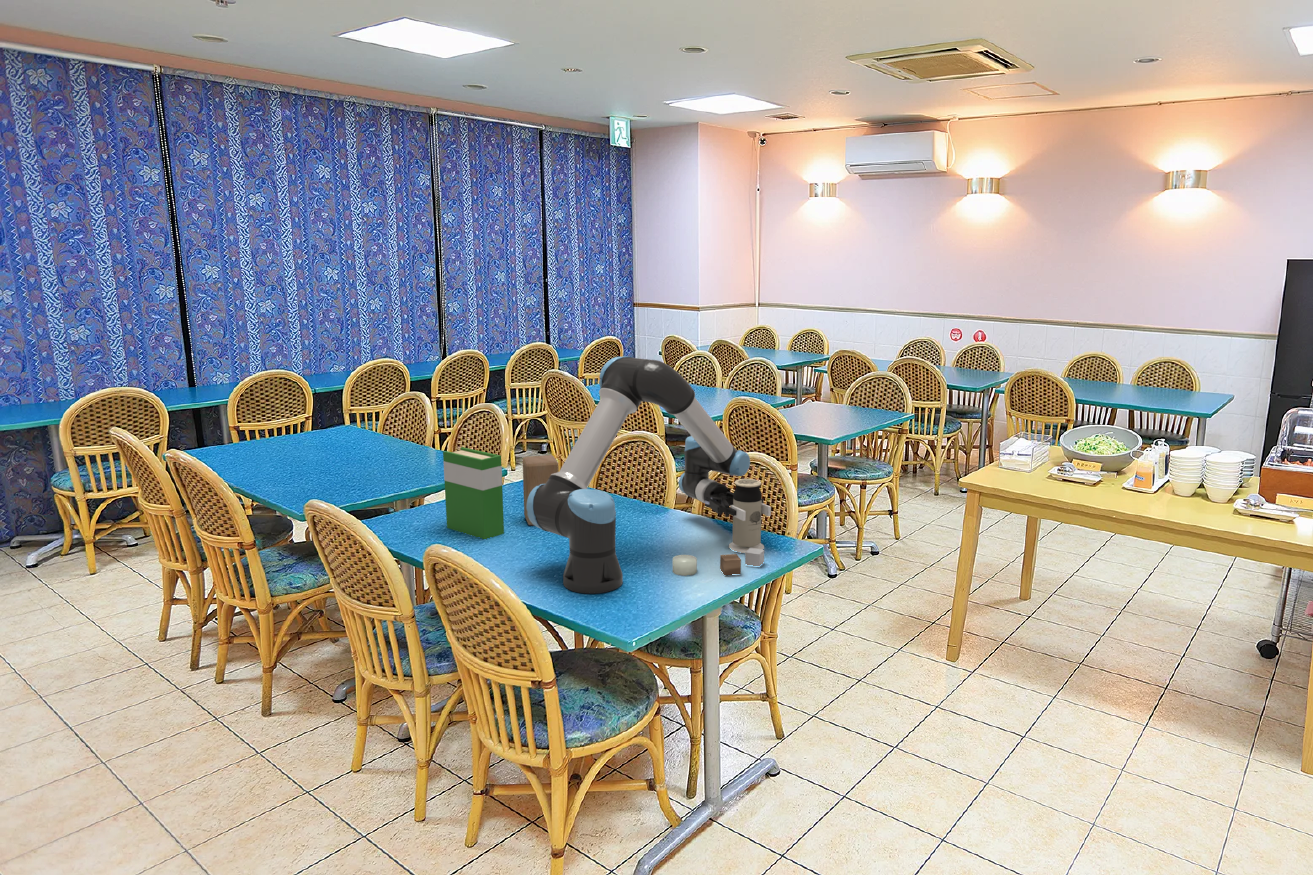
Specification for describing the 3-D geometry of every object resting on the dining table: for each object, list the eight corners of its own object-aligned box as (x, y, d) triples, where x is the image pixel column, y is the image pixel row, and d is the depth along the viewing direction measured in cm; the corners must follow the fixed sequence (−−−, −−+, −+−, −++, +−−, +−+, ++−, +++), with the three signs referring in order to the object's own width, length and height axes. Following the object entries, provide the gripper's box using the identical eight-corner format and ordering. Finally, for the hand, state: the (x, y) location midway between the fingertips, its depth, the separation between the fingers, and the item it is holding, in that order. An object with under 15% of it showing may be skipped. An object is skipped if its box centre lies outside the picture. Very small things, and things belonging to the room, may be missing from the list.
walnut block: (740, 575, 225) (741, 559, 224) (724, 576, 225) (724, 560, 224) (736, 569, 230) (736, 553, 229) (720, 570, 229) (720, 554, 228)
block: (527, 526, 265) (526, 463, 260) (524, 517, 274) (522, 456, 270) (560, 524, 267) (558, 461, 263) (555, 514, 277) (553, 454, 272)
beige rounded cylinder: (695, 576, 224) (695, 563, 224) (670, 575, 225) (670, 562, 225) (698, 568, 231) (698, 555, 230) (674, 566, 232) (674, 554, 231)
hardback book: (446, 527, 263) (442, 451, 258) (466, 522, 269) (462, 447, 264) (484, 539, 253) (481, 460, 248) (504, 533, 258) (501, 455, 253)
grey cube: (759, 568, 230) (759, 554, 229) (745, 566, 232) (745, 552, 231) (763, 563, 234) (764, 549, 233) (749, 561, 235) (750, 547, 235)
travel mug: (727, 540, 248) (729, 479, 244) (752, 537, 251) (754, 477, 247) (739, 549, 241) (741, 486, 237) (765, 545, 243) (767, 484, 239)
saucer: (763, 554, 240) (763, 552, 240) (727, 552, 242) (727, 550, 242) (764, 543, 250) (764, 541, 250) (730, 541, 251) (730, 539, 251)
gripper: (741, 501, 264) (786, 521, 245) (683, 510, 255) (725, 532, 235) (742, 477, 263) (787, 495, 243) (683, 486, 253) (726, 505, 234)
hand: (757, 513), depth 239 cm, fingers closed on travel mug, 8 cm apart
